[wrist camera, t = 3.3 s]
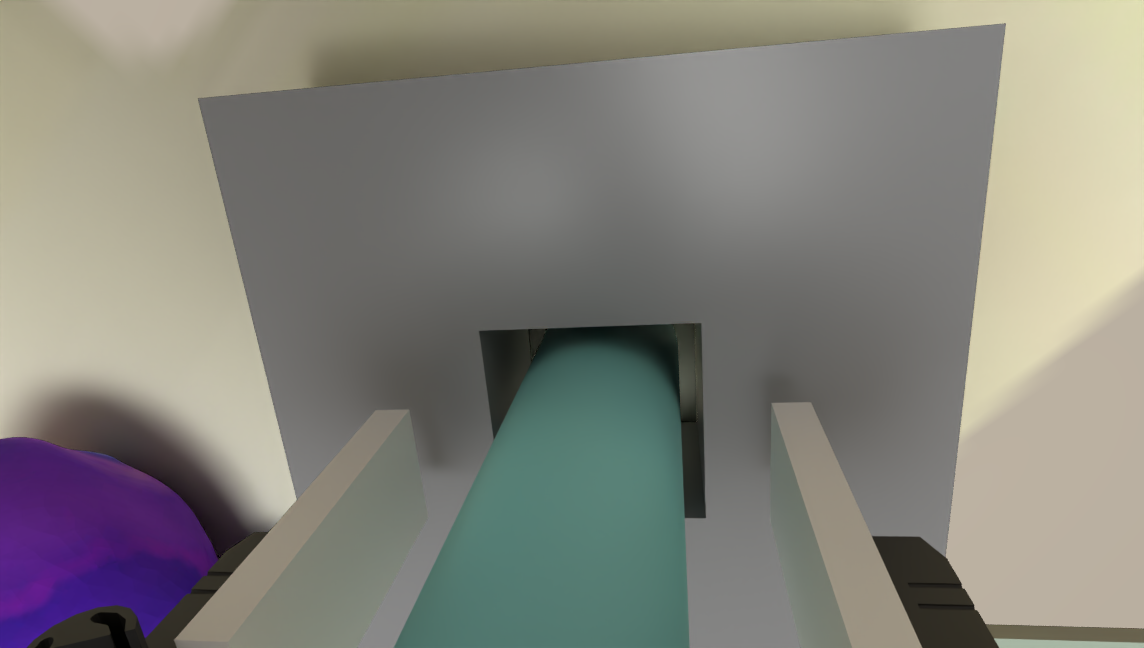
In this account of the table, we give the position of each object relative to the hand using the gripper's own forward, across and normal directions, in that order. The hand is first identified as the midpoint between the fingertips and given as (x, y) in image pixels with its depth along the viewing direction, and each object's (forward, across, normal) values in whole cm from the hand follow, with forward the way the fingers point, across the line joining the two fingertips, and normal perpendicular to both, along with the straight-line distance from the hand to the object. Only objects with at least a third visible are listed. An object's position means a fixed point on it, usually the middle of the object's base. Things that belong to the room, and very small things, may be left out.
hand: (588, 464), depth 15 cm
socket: (+7, 0, 0) cm, 7 cm away
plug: (+7, 0, 0) cm, 7 cm away
